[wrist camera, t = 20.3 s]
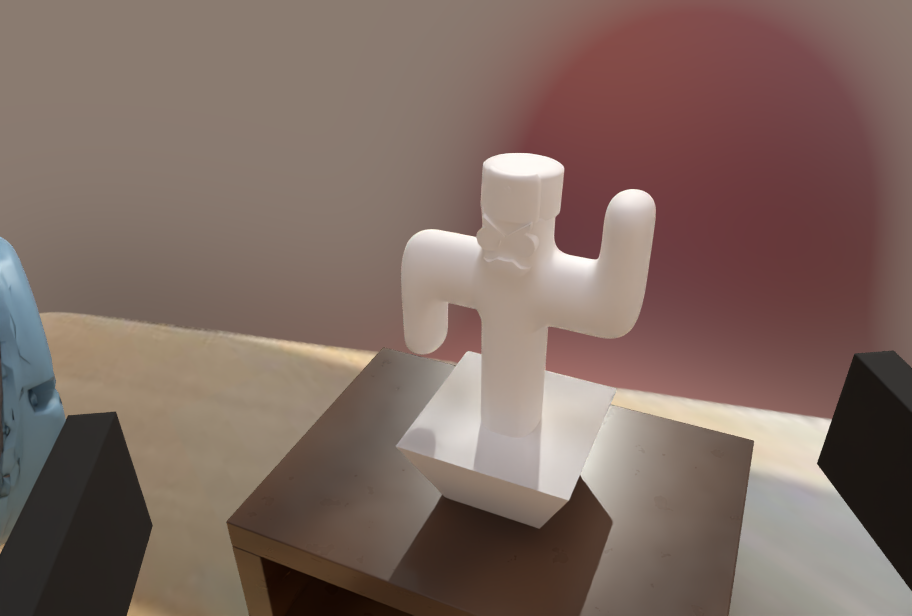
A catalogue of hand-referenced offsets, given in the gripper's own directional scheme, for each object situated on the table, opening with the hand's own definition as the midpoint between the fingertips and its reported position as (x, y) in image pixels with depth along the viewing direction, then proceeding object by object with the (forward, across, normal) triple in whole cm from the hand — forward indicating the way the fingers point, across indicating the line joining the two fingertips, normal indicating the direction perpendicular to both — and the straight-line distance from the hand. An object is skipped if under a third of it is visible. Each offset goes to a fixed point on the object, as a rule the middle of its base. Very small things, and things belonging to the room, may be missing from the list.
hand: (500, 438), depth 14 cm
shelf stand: (+14, +3, -25) cm, 29 cm away
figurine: (+14, +3, -15) cm, 21 cm away
